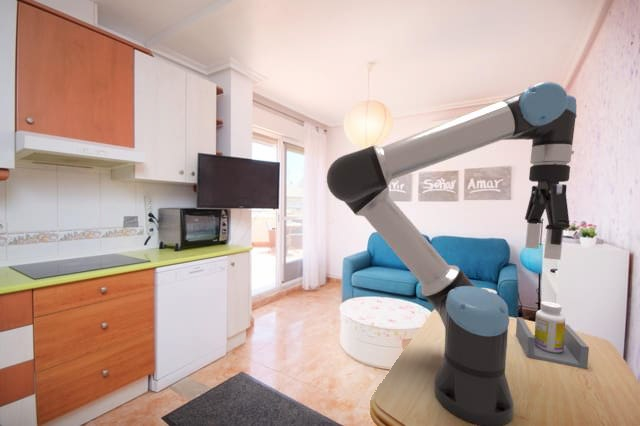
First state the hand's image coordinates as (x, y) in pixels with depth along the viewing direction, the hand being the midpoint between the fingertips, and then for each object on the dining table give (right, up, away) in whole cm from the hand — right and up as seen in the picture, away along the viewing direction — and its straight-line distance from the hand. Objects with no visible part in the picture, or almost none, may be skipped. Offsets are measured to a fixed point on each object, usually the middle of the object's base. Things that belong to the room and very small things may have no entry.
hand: (541, 253), depth 70 cm
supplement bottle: (+12, -29, +13) cm, 35 cm away
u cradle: (+12, -30, +14) cm, 35 cm away
